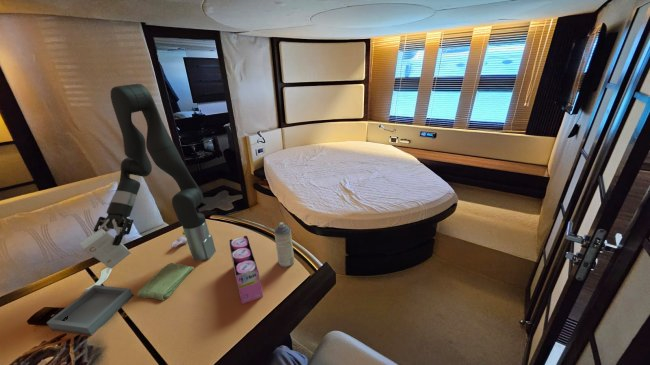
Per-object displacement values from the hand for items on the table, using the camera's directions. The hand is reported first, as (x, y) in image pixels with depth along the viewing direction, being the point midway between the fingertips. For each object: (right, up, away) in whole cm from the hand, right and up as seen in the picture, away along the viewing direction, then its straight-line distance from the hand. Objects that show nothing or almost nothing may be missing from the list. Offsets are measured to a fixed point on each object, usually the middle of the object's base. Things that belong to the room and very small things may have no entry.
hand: (106, 244), depth 94 cm
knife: (-11, -18, +8) cm, 22 cm away
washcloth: (+20, -17, +6) cm, 27 cm away
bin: (+1, -23, -6) cm, 23 cm away
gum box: (+53, -16, +5) cm, 55 cm away
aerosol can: (+67, -11, +14) cm, 69 cm away
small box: (+1, -7, +5) cm, 8 cm away
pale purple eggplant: (+13, -7, +30) cm, 33 cm away
